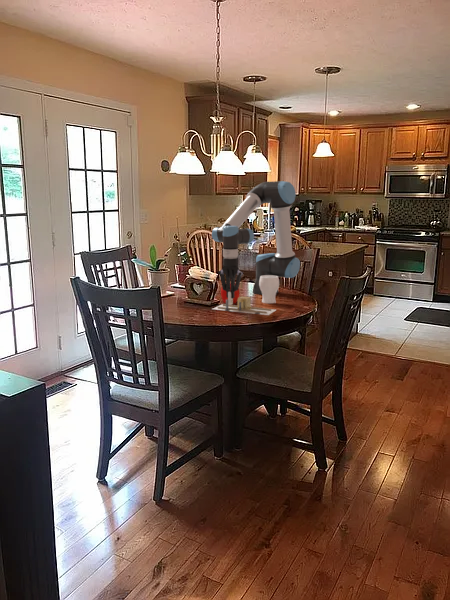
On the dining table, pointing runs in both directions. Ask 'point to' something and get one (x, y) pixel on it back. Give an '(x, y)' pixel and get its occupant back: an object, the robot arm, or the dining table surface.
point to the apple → (224, 298)
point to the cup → (269, 288)
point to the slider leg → (244, 303)
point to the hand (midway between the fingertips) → (230, 304)
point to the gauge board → (235, 309)
